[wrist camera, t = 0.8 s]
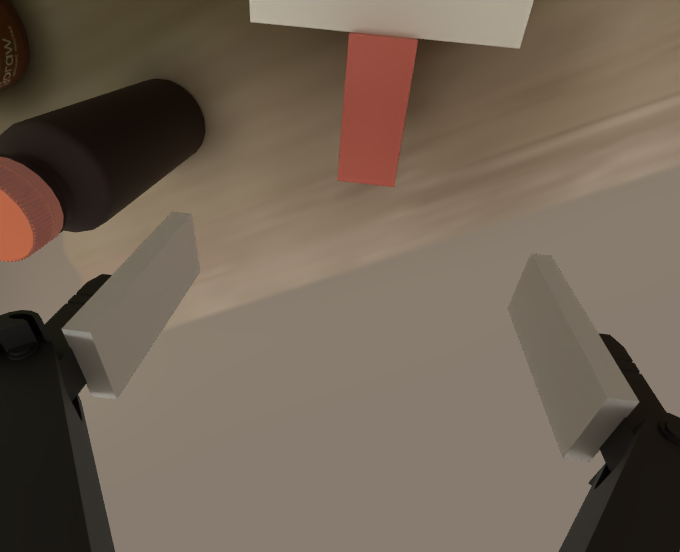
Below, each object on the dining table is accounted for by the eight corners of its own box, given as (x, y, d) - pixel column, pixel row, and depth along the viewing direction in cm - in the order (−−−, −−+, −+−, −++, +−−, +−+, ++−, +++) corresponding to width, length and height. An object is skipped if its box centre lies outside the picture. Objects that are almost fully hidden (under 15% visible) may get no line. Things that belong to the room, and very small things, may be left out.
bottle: (115, 94, 35) (-126, 176, 19) (179, 65, 33) (-25, 127, 17) (159, 167, 39) (-11, 290, 22) (220, 144, 37) (83, 259, 20)
